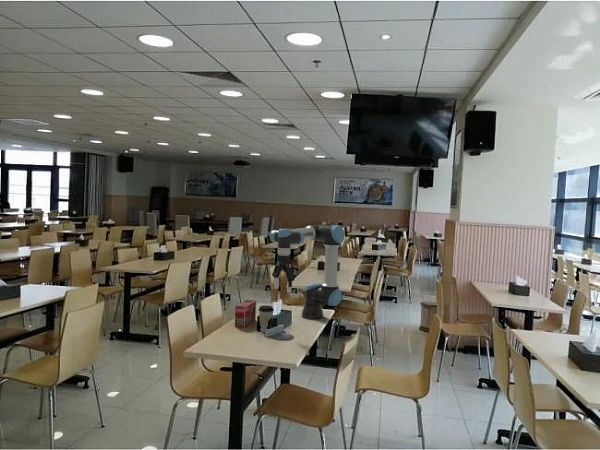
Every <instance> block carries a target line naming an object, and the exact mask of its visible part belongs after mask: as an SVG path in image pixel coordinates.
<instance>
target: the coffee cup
mask: <svg viewBox="0 0 600 450" xmlns="http://www.w3.org/2000/svg"><path fill="white" fill-rule="evenodd" d="M274 311H275V309H274V307H273V306H272V305H260V306H259V307H258V312H259V324H260V325H259V327H260V326H261V328H260V332H261V333H265V334H266V330H267V326H268V321H269V320H270V319H271V318H272V319H274V318H273V316H274V314H273V313H274Z"/></svg>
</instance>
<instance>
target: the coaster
mask: <svg viewBox="0 0 600 450" xmlns="http://www.w3.org/2000/svg"><path fill="white" fill-rule="evenodd" d="M272 338H273V339H274V340H277V341H291V340H293V339H294V335H293V334H290V333H285V332H280V333H277V334H275V335H272Z"/></svg>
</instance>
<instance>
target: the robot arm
mask: <svg viewBox="0 0 600 450" xmlns="http://www.w3.org/2000/svg"><path fill="white" fill-rule="evenodd" d="M269 239H270V242H273V243H277V257H276V258H277V259H276V260H277V261H275V265H274V268H273V271H272V273H271V274H272V275H271V276H272V277H273V278H274V281H273V282H274V283H273V284H274V285H273V287H274V288H273V289H275V290H276V289H279V287H280V285H279V284H280V277H279V276H280V274H281V272H284V274H285V276H286V279H287V281H286V293H287V294H288V293H292V289H293V288H292V287H293V282H294V281H295V280H296V279H295V276H294V272H293V265H292V264H291V263H290V264H289V262H290V261H291V245H300V244H302V243H304V242H305V240H307V241H317V242H323V243H322V245H323V246H324V247H325V248H324V249H325V250H324V251H325V252H324V269H323V272H324V273H323V278H324V279H323V283H319V282H318V283H307V284H305V287H304V304H303V305H304V306H303V309H302V311H301V318H304V319H306V320H320V319H321V320H322V319H323V318H324V311H323V307H322V305H326V306H333V307H335V306H337V305H339V304H340V303H341V301H342V298H343V297H342V296H343V294H342V293H343V292H342V290H341V289H340V288H339V284H338V283H337V280H338V262H339V261H338V260H339V259H338V258H339V257H338V256H339V248H340V247H341V244H342V243H343V242H344V240H345V231H344V229H343V227H342V226H340V225H336V224H323V223H321V224H315V225H314V224H313V225H308V226H306V227H302V228H301V227H300V228H291V229H290V228H279V229H276V230H275V229H273V230H271V232H270V234H269Z"/></svg>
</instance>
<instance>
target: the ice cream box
mask: <svg viewBox="0 0 600 450" xmlns="http://www.w3.org/2000/svg"><path fill="white" fill-rule="evenodd" d="M256 310H257V300H252V299H246V300H244V301H242V302H240V303H238V304H237V305H235V309H234V311H235V312H234V328H242V329H243V328H244V329H245V328H247V327H248V326H249V325H251V324H252V323H253V322H255V321H256V315H257V311H256Z"/></svg>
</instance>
